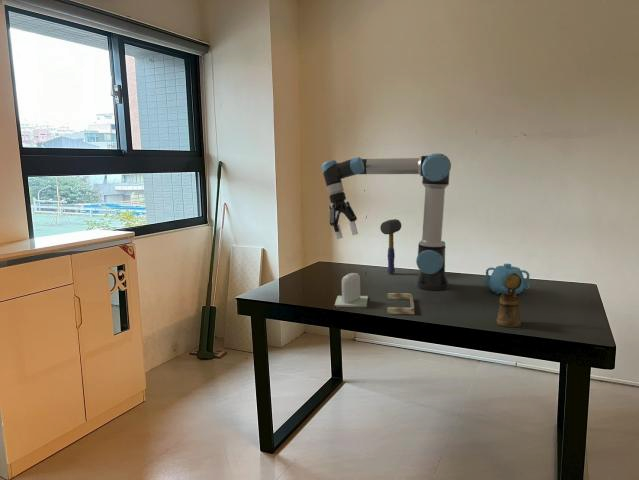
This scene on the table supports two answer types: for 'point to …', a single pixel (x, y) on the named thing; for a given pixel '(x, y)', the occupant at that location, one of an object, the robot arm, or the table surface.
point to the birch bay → (400, 310)
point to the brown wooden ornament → (510, 303)
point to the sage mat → (357, 303)
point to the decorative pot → (499, 277)
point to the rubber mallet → (390, 240)
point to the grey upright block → (350, 287)
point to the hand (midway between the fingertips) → (347, 236)
